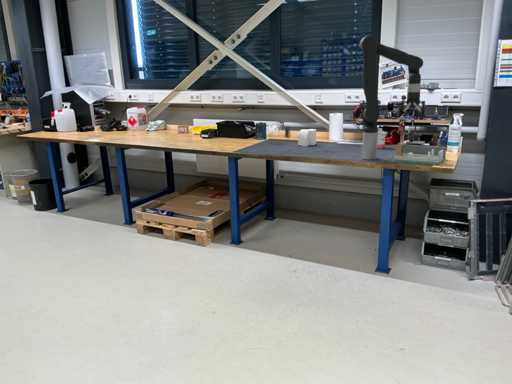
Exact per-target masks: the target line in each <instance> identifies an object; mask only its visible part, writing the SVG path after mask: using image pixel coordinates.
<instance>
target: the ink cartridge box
mask: <svg viewBox="0 0 512 384" xmlns="http://www.w3.org/2000/svg"><path fill="white" fill-rule="evenodd" d="M385 142H386V131H383V128H381V127H378V143H377V149H384V148H385V145H386V143H385Z"/></svg>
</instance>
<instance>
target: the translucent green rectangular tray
mask: <svg viewBox="0 0 512 384" xmlns="http://www.w3.org/2000/svg"><path fill="white" fill-rule="evenodd" d="M409 152H411V153H413V155H414V156H413V157H407V154H408V153H409ZM446 152H447V146H437V145H434V146H433V145H421V144H417V145H416V144H406V145H404V146H403V156H396V155H394V159H393V161H394V162H395V163H404V162H408V163H407V164H416V163H420V164H419V165H428V164H429V166H431V165H432V166H440V165H441V164H442V163H443V162H444V161H445V160H446V154H447V153H446Z"/></svg>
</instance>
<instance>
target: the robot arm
mask: <svg viewBox="0 0 512 384" xmlns="http://www.w3.org/2000/svg"><path fill="white" fill-rule="evenodd" d="M359 48H360V50H361V52H362V53H363V54H362V55H363V64H362V66H363V67H362V73H361V78H362V81H361V83H362V89H363V92H364V98H365V108H364V109H363V110H362V117H361V118H362V144H361V151H360V152H361V154H360V160H361V159H363V160H369V161H370V160H378V148H377V143H378V131H379V130H378V128H379V127H378V120H379V118H380V115H381V111H380V105H379V79H378V78H379V77H378V76H379V75H378V74H379V73H378V64H377V55H379V56H380V57H383V58H385V59H388V60H390V61H393V62H395V63H397V64H398V65H404V66H406V67H407V71H408V85H407V89H406V91H407V92H406V95H407V96H406V100H402V101H401V103H400V111H402V112H403V115H402V116H403V118H407V110H408V109H416V110H417V111H418V116H417V118H418V119H420V118H421V117H422V113H423V112H424V111H425V110H426V100H421V88H422V87H421V81H422V80H421V79H422V76H421V73H420V69H421V68H422V67H423V66H424V60H423V59H422V58H421V57H419V56H416V55H413V54H409V53H407V52H406V51H404V50H400V49H397V48H395V47H391V46H388V45H385V44H382V43H379V42H378V41H377V38H376V37H375V36H374V35H370V34H369V35H366V36H364V37H362V38H361V40H359ZM405 105H406V106H405ZM420 105H421V106H420Z"/></svg>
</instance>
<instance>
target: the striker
mask: <svg viewBox="0 0 512 384" xmlns="http://www.w3.org/2000/svg"><path fill="white" fill-rule="evenodd" d="M407 132H408V136H407V140H403V141H400V142H399V143H397V146H396V149H395V151H396V153H395V156H403V146H404V145H408V144H412V145H416V144H417V145H424V144H425V141H423V140H422V141H421V140H417V141H416V140H415V129H408V131H407Z"/></svg>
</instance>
